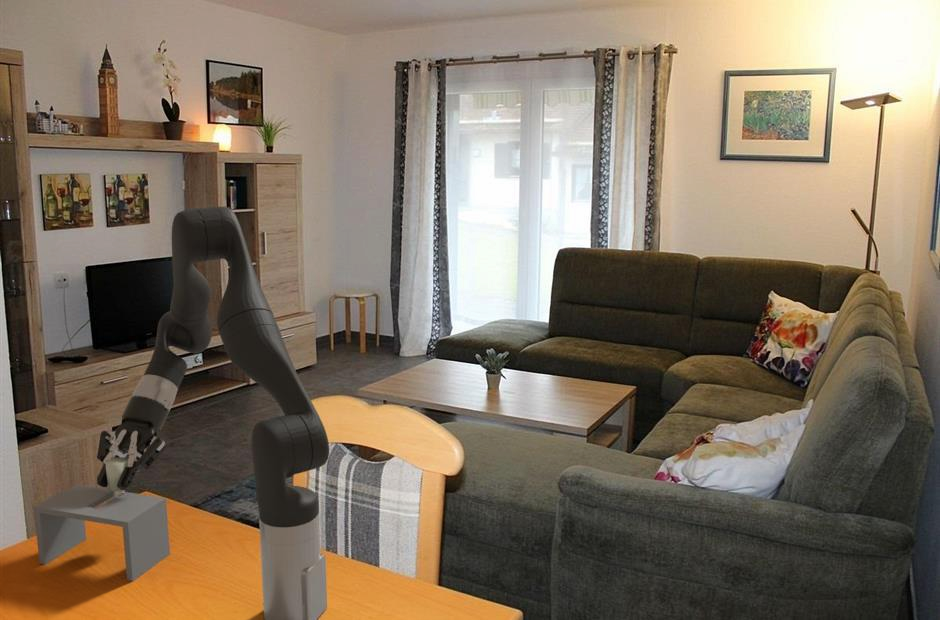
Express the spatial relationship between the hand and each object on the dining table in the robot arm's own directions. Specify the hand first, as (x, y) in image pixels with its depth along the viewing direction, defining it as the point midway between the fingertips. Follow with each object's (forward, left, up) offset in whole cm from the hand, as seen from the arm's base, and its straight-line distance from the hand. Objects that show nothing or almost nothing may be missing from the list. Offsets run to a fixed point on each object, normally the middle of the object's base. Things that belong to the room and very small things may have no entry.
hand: (111, 486), depth 145 cm
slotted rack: (0, +4, -13) cm, 13 cm away
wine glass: (0, -2, -6) cm, 7 cm away
